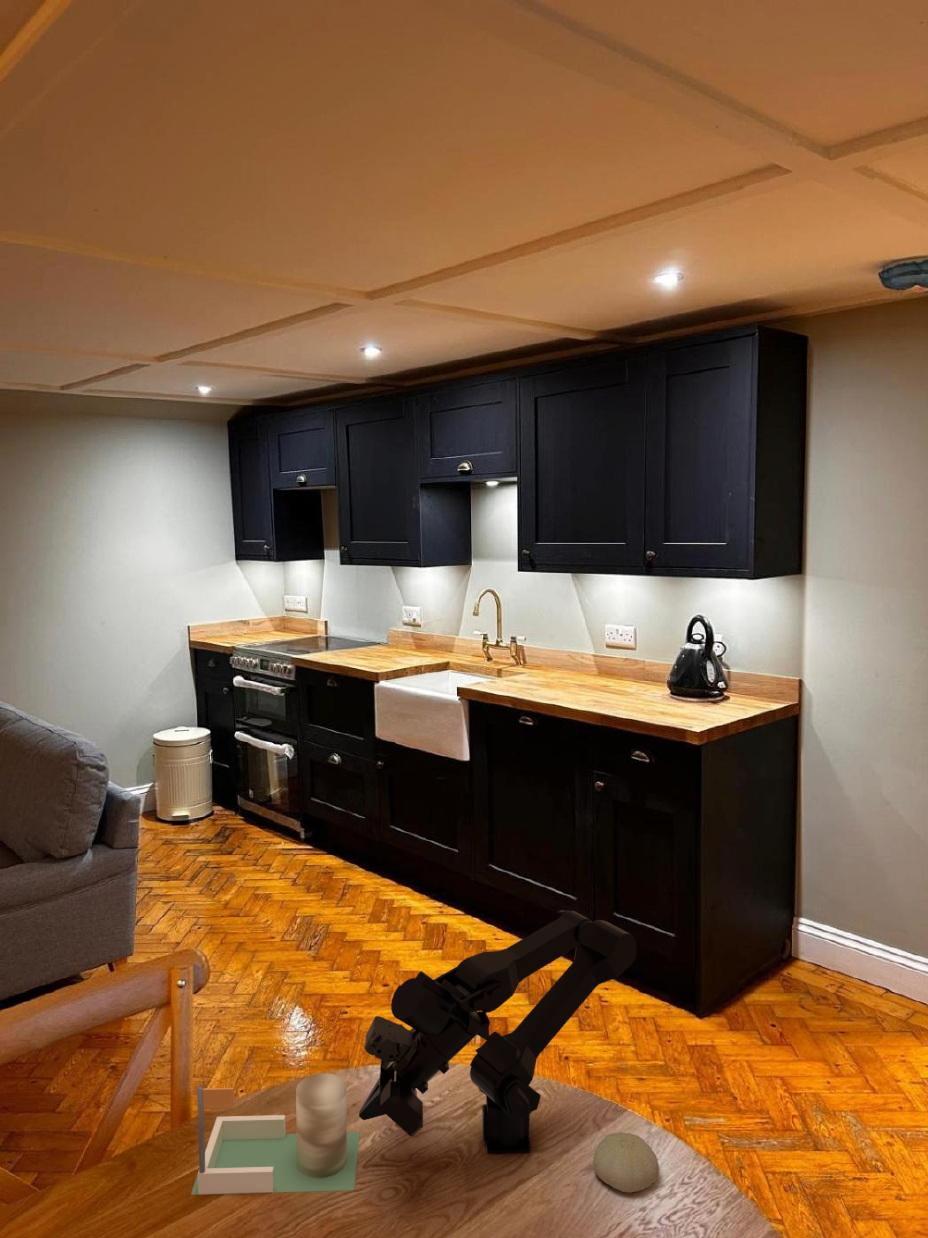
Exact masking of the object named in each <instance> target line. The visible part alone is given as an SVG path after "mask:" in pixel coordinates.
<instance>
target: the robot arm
mask: <svg viewBox="0 0 928 1238" xmlns="http://www.w3.org/2000/svg"><path fill="white" fill-rule="evenodd" d="M637 949H638V948H637V941H636V938H635V937H634V936H633V934H631V933H629V932H627V931H625V930H623V929H621V928H619V927H618V926H616V925H613V924H612V923H610V922H608V921H605V920H604V919H601V920H600V919H599V920H598V919H596V920H593V921H592V920H591V919H589V918H588V917H586V916H584V915H583V914H581V913H578V912H577V911H574V910H566V911H563V912H562V913H561V915H560V916H559V917H558V918H557V919H555V920H554V921H552V922H550V923H548V924H546V925H545V926H543V927H541V928H540V929H537V930H536V931H534V932H533V933H531V934H528V935H527V936H525V937H523V938H522V939H520V940H519V941H517V942H515V943H513V944H511V945H510V946H508V947H506V948H504V949H501V950H493V951H491V950H490V951H483V952H480V953H477V954H474V955H471V956H469V957H467V958H465V959H462V960H461V961H460V962H459V963H458V965H457V966H454V967H453V968H452V969H450V970H448V971H446V972H445V973H443V974H441V975H440V976H438V977H436V978H434V979H433V978H431V977H430V976H429V975H428V974H427V973H425V972H423V971H422V970H421V971H418V973H417V974H416V977H412V978H408V979H407V980H405V981H403V983H402V984H401V985H398V986H397V987H396V990H395V991H394V993H393V995H392V999H391V1004H390V1010H391V1013H392V1016H393V1017H394V1018H395V1019H397V1020H399V1021H401V1022H402V1023H403V1024H405V1025H407V1026H408V1027H411V1029H408V1028H406V1027H405V1026H404V1025H403V1024H399V1023H397V1022H394V1021H392V1020H390V1019H387V1018H385V1017H382V1016H378V1015H376V1016H375V1017H374V1018H373V1020H372V1021H371V1024H370V1026H369V1028H368V1031H367V1032H366V1035H365V1042H364V1051H365V1052H366V1053H367V1054H368V1055H371V1056H374V1057H375V1058H376V1059H379V1060H380V1068H379V1071H380V1072H379V1073H380V1074H379V1078H378V1079H377V1081H376V1083H375V1084H374V1086H373V1087H372V1090H371V1091H370V1093H369V1095H368V1096H367V1098H366V1099H365V1101H364V1103H363V1104H362V1106H361V1108H360V1110H359V1112H358V1116H359V1118H360V1119H361V1120H363V1121H366V1120H371V1119H373V1118H374V1119H375V1118H378V1117H381V1116H384V1115H385V1116H387V1117H388V1118H390V1120H391V1121H393V1122H394V1123H395V1124H396V1125H397V1126H398V1127H399V1128H400V1129H401V1130H403V1131H404V1132H405V1134H407V1135H408V1136H409V1137H414V1136H415V1135H416V1134H417V1133H418V1132H419V1131H420V1130H422V1128H423V1127H424V1107H423V1106H424V1105H423V1103H424V1102H423V1101H422V1100H421V1099H420V1098H419V1097H418V1091H419V1092H420V1093H421V1094H422V1095H424V1094H425V1093H426V1092H427V1091H429V1082H430V1080H431V1079H432V1078H433V1077H435V1076H436V1075H437V1073H439V1072H441V1073H442V1074H443V1075H445V1074H446V1073H447V1072H448V1071H449V1070H450V1064H449V1062H450V1061H451V1060H452V1059H453V1058H455V1056H456V1055H458V1054H459V1052H461V1050H463V1049H464V1048H465V1047H466V1046H467V1045H468V1044H469V1043H470V1042H471V1041H472V1040H473V1039H474V1038H475V1037H476V1036H479V1038H482V1039H483V1040H485V1041H484V1043H483V1044H482V1045H481V1046H480V1047H477V1048H476V1049H475V1053H476V1054H475V1055H474V1057H473V1058H472V1060H471V1061H470V1065H469V1066H470V1070H469V1071H470V1072H469V1076H470V1080H471V1083H472V1084H474V1085H475V1086H476V1087H477V1088H478V1090H479V1092H480V1093H483V1095H485V1104H482V1107H481V1131H482V1141H483V1142H485V1144H486V1147H485V1148H486V1152H487V1153H488V1154H505V1153H506V1154H508V1153H515V1154H516V1153H530V1152H532V1146H531V1145H532V1143H531V1138H530V1127H531V1126H530V1121H531V1120H530V1118H531V1117H530V1116H531V1114H532V1112H534V1111H537V1110H538V1108H539V1104H540V1101H541V1094H540V1093H539V1092H537V1091H536V1090H535V1089H534V1088H533V1087H531V1086H530V1084H531V1083H532V1081H533V1079H534V1075H535V1070H536V1065H537V1059H538V1057H539V1056H540V1055H541V1054H542V1052H543V1051H544V1050H545V1049H546V1047H547V1046H548V1045H549V1044H550V1043H551V1042H552V1040H553V1039H554V1038H555V1037H556V1036H557V1034H558V1033H560V1031H561V1030H562V1028H563V1027H564V1026H565V1025H566V1024H567V1023H568V1021H569V1020H570V1019H571V1018H572V1017H573V1016H574V1014H575V1013H576V1012H577V1011H578V1009H579V1008H580V1007H581V1005H583V1003H584V1002H585V1001H586V1000H587V998H588V997H589V996H590V995H591V994H592V993H593V992H594V990H595V989H596V988H597V987H598V986H599V985H602V984H604V983H607V982H609V981H612V980H614V979H617V978H618V977H620V976H621V975H622V974H623V973H624V972H625V971H626V970H627V969H629V967H630V966H632V965H633V963H635V960H636V958H637V954H638V951H637ZM573 950H575V953H574V959H573V961H572V963H571V964H570V965H569V966H568V968H566V970H565V971H564V972H563V973H562V975H560V976H559V978H558V979H557V980H556V982H555V983H553V985H552V986H551V987H550V988H549V990H547V992H546V993H545V994H544V995H543V996H542V997H541V999H540V1000H539V1001H538V1002H537V1004H536V1005H535V1006H534V1007H533V1008H532V1009H531V1010H530V1012H529V1013H528V1014H527V1015H525V1017H524V1018H523V1020H522V1021H521V1022H520V1023H519V1024H518V1025H517V1026H516V1027H515V1029H514V1030H513V1031H512V1032H510V1033H506V1034H504V1035H501V1034H500V1033H499V1032H498V1031H493V1032H492V1033H491V1034H490V1024H491V1021H490V1019H489V1016H488V1015H487V1014H488V1013H492V1012H494V1011H496V1010H497V1009H499V1008H500V1007H501V1006H502V1005H504V1004H505V1003H506V1002H507V1001H509V999H510V998H512V997H513V996H514V994H515V992H516V990H517V988H518V986H519V984H520V983H522V982H523V980H525V979H527V978H528V977H530V976H531V975H533V974H535V973H536V972H538V971H540V970H541V969H543V968H545V967H546V966H548V965H550V964H551V963H553V962H555V961H556V960H558V959H560V958H561V957H563V956H564V955H566V954H569V952H571V951H573ZM417 1090H418V1091H417Z"/></svg>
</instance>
